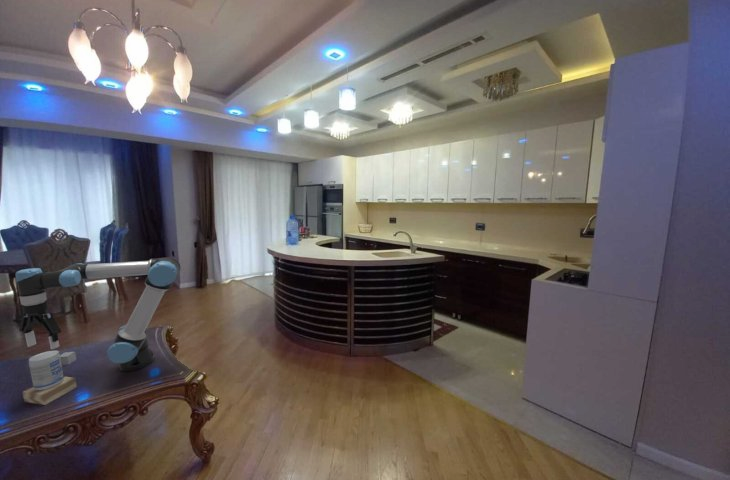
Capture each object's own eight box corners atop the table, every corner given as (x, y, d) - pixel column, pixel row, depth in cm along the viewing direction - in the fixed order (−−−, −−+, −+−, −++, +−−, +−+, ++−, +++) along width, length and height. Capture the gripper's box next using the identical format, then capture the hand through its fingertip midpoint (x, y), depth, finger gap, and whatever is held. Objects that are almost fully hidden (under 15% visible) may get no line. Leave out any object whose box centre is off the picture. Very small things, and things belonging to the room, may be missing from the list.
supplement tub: (60, 386, 129) (55, 357, 127) (29, 394, 124) (23, 364, 122) (67, 375, 137) (62, 347, 135) (38, 382, 132) (33, 354, 130)
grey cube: (76, 359, 159) (74, 351, 159) (68, 364, 155) (67, 356, 154) (66, 360, 159) (64, 352, 158) (58, 365, 154) (56, 357, 153)
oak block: (76, 387, 136) (75, 377, 135) (45, 404, 124) (43, 394, 123) (57, 384, 138) (55, 375, 137) (24, 401, 126) (22, 391, 125)
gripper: (67, 301, 126) (75, 344, 129) (24, 298, 130) (33, 340, 133) (45, 307, 119) (54, 353, 122) (1, 304, 123) (11, 348, 126)
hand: (43, 346), depth 128 cm, fingers open, 13 cm apart
